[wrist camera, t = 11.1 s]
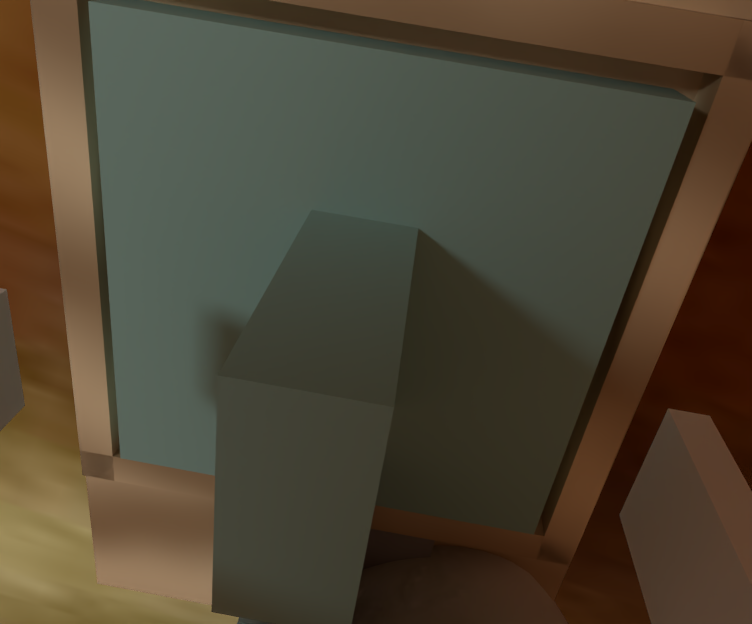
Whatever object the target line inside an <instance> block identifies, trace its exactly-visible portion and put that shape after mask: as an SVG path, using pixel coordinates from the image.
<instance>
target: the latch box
mask: <svg viewBox="0 0 752 624" xmlns="http://www.w3.org/2000/svg"><path fill="white" fill-rule="evenodd" d="M88 1H92V0H30V4H31V13H32V22H33V31H34V40H35V49H36V58H37V67H38V76H39V85H40V94H41V103H42V112H43V121H44V130H45V139H46V148H47V157H48V166H49V175H50V184H51V193H52V202H53V211H54V221H55V230H56V239H57V248H58V257H59V266H60V275H61V284H62V293H63V302H64V311H65V320H66V329H67V338H68V347H69V356H70V365H71V374H72V383H73V392H74V401H75V410H76V419H77V428H78V437H79V446H80V455H81V464H82V473H83V475H85V476H86V481H87V491H88V500H89V509H90V519H91V528H92V537H93V546H94V556H95V565H96V574H97V583H98V584H103V585H108V586H114V587H119V588H124V589H129V590H135V591H140V592H145V593H150V594H156V595H161V596H166V597H171V598H177V599H182V600H187V601H193V602H198V603H203V604H208V605H212V577H213V537H214V498H215V476H214V475H208V474H203V473H198V472H192V471H187V470H181V469H176V468H171V467H165V466H160V465H154V464H149V463H144V462H138V461H133V460H127V459H122V458H120V444H119V430H118V416H117V402H116V387H115V373H114V359H113V345H112V331H111V317H110V303H109V288H108V274H107V260H106V246H105V232H104V218H103V204H102V189H101V175H100V161H99V147H98V133H97V119H96V105H95V90H94V76H93V62H92V48H91V34H90V20H89V6H88ZM145 1H151V2H157V3H163V4H169V5H175V6H181V7H187V8H193V9H199V10H205V11H211V12H217V13H223V14H229V15H235V16H241V17H247V18H253V19H258V20H264V21H270V22H276V23H282V24H288V25H294V26H300V27H306V28H312V29H318V30H324V31H330V32H336V33H342V34H348V35H354V36H360V37H366V38H372V39H378V40H384V41H390V42H396V43H402V44H408V45H414V46H420V47H426V48H432V49H438V50H444V51H450V52H456V53H462V54H468V55H474V56H480V57H486V58H492V59H498V60H504V61H510V62H516V63H522V64H528V65H534V66H540V67H546V68H552V69H558V70H564V71H570V72H576V73H582V74H588V75H594V76H600V77H606V78H612V79H618V80H624V81H630V82H636V83H642V84H648V85H654V86H660V87H666V88H672V89H674V90H676V91H678V92H679V93H681V94H683V95H684V96H686V97H688V98H689V99H691V100H692V101H694V102H696V105H695V107H694V110H693V113H692V115H691V118H690V121H689V123H688V126H687V129H686V131H685V134H684V137H683V139H682V142H681V144H680V147H679V150H678V152H677V155H676V158H675V160H674V163H673V166H672V168H671V171H670V174H669V176H668V179H667V182H666V184H665V187H664V190H663V192H662V195H661V198H660V200H659V203H658V206H657V208H656V211H655V214H654V216H653V219H652V222H651V224H650V227H649V230H648V232H647V235H646V238H645V240H644V243H643V246H642V248H641V251H640V254H639V256H638V259H637V262H636V264H635V267H634V269H633V272H632V275H631V277H630V280H629V283H628V285H627V288H626V291H625V293H624V296H623V299H622V301H621V304H620V307H619V309H618V312H617V315H616V317H615V320H614V323H613V325H612V328H611V331H610V333H609V336H608V339H607V341H606V344H605V347H604V349H603V352H602V355H601V357H600V360H599V363H598V365H597V368H596V371H595V373H594V376H593V379H592V381H591V384H590V387H589V389H588V392H587V394H586V397H585V400H584V402H583V405H582V408H581V410H580V413H579V416H578V418H577V421H576V424H575V426H574V429H573V432H572V434H571V437H570V440H569V442H568V445H567V448H566V450H565V453H564V456H563V458H562V461H561V464H560V466H559V469H558V472H557V474H556V477H555V480H554V482H553V485H552V488H551V490H550V493H549V496H548V498H547V501H546V504H545V506H544V509H543V512H542V514H541V517H540V519H539V522H538V525H537V527H536V530H535V533H534V535H533V534H527V533H522V532H517V531H511V530H506V529H500V528H495V527H490V526H484V525H479V524H473V523H468V522H463V521H457V520H452V519H446V518H441V517H436V516H430V515H425V514H419V513H414V512H409V511H403V510H398V509H392V508H387V507H381V506H376V505H375V508H374V513H373V518H372V523H371V528H370V533H369V538H368V543H367V549H366V554H365V559H364V564H363V569H362V570H364V569H367V568H370V567H373V566H376V565H380V564H384V563H388V562H393V561H398V560H405V559H412V558H424V557H431V553H432V549H433V546H434V545H445V546H458V547H466V548H471V549H476V550H481V551H485V552H488V553H491V554H494V555H497V556H500V557H502V558H504V559H506V560H509V561H511V562H513V563H514V564H516V565H517V566H519V567H521V568H522V569H524V570H525V571H527V572H528V573H530V574H531V575H532V577H533V578H534V579H535V580H536V581H537V582H538V583H539V584H540V585H541V587H542V588H543V589H544V590H545V591H546V592H547V594H548V595H549V597H550V598H551V599H552V600H553V601H554V600H555V598H556V596H557V593H558V591H559V589H560V586H561V584H562V582H563V579H564V577H565V575H566V572H567V570H568V568H569V565H570V563H571V561H572V558H573V556H574V554H575V551H576V549H577V547H578V544H579V542H580V540H581V537H582V535H583V533H584V530H585V528H586V526H587V523H588V521H589V519H590V516H591V514H592V512H593V509H594V507H595V505H596V502H597V500H598V498H599V495H600V493H601V491H602V488H603V486H604V484H605V481H606V479H607V477H608V475H609V472H610V470H611V468H612V465H613V463H614V461H615V458H616V456H617V454H618V451H619V449H620V447H621V444H622V442H623V440H624V437H625V435H626V433H627V430H628V428H629V426H630V423H631V421H632V419H633V416H634V414H635V412H636V409H637V407H638V405H639V402H640V400H641V398H642V395H643V393H644V391H645V388H646V386H647V384H648V381H649V379H650V377H651V374H652V372H653V370H654V367H655V365H656V363H657V360H658V358H659V356H660V353H661V351H662V349H663V346H664V344H665V342H666V339H667V337H668V335H669V332H670V330H671V328H672V325H673V323H674V321H675V319H676V316H677V314H678V312H679V309H680V307H681V305H682V302H683V300H684V298H685V295H686V293H687V291H688V288H689V286H690V284H691V281H692V279H693V277H694V274H695V272H696V270H697V267H698V265H699V263H700V260H701V258H702V256H703V253H704V251H705V249H706V246H707V244H708V242H709V239H710V237H711V235H712V232H713V230H714V228H715V225H716V223H717V221H718V218H719V216H720V214H721V211H722V209H723V207H724V204H725V202H726V200H727V197H728V195H729V193H730V190H731V188H732V186H733V183H734V181H735V179H736V176H737V174H738V172H739V170H740V167H741V165H742V163H743V160H744V158H745V156H746V153H747V151H748V149H749V146H750V144H751V142H752V0H145ZM215 613H216V612H215ZM220 614H221V613H220ZM225 615H226V614H225ZM236 617H237V616H236Z"/></svg>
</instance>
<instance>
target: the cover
mask: <svg viewBox="0 0 752 624" xmlns="http://www.w3.org/2000/svg"><path fill="white" fill-rule="evenodd" d="M88 6H89V20H90V34H91V48H92V62H93V76H94V90H95V105H96V119H97V133H98V147H99V161H100V175H101V189H102V204H103V218H104V232H105V246H106V260H107V274H108V288H109V303H110V317H111V331H112V345H113V359H114V373H115V387H116V402H117V416H118V430H119V444H120V458H122V459H127V460H133V461H138V462H144V463H149V464H154V465H160V466H165V467H171V468H176V469H181V470H187V471H192V472H198V473H203V474H208V475H214V476H215V498H214V537H213V577H212V612H216V613H221V614H226V615H231V616H237V617H242V618H247V619H252V620H258V621H263V622H268V623H273V624H352V620H353V615H354V610H355V605H356V600H357V595H358V589H359V584H360V579H361V574H362V569H363V564H364V559H365V554H366V549H367V543H368V538H369V533H370V528H371V523H372V518H373V513H374V508H375V505H376V506H381V507H387V508H392V509H398V510H403V511H409V512H414V513H419V514H425V515H430V516H436V517H441V518H446V519H452V520H457V521H463V522H468V523H473V524H479V525H484V526H490V527H495V528H500V529H506V530H511V531H517V532H522V533H527V534H533V535H534V533H535V530H536V527H537V525H538V522H539V519H540V517H541V514H542V512H543V509H544V506H545V504H546V501H547V498H548V496H549V493H550V490H551V488H552V485H553V482H554V480H555V477H556V474H557V472H558V469H559V466H560V464H561V461H562V458H563V456H564V453H565V450H566V448H567V445H568V442H569V440H570V437H571V434H572V432H573V429H574V426H575V424H576V421H577V418H578V416H579V413H580V410H581V408H582V405H583V402H584V400H585V397H586V394H587V392H588V389H589V387H590V384H591V381H592V379H593V376H594V373H595V371H596V368H597V365H598V363H599V360H600V357H601V355H602V352H603V349H604V347H605V344H606V341H607V339H608V336H609V333H610V331H611V328H612V325H613V323H614V320H615V317H616V315H617V312H618V309H619V307H620V304H621V301H622V299H623V296H624V293H625V291H626V288H627V285H628V283H629V280H630V277H631V275H632V272H633V269H634V267H635V264H636V262H637V259H638V256H639V254H640V251H641V248H642V246H643V243H644V240H645V238H646V235H647V232H648V230H649V227H650V224H651V222H652V219H653V216H654V214H655V211H656V208H657V206H658V203H659V200H660V198H661V195H662V192H663V190H664V187H665V184H666V182H667V179H668V176H669V174H670V171H671V168H672V166H673V163H674V160H675V158H676V155H677V152H678V150H679V147H680V144H681V142H682V139H683V137H684V134H685V131H686V129H687V126H688V123H689V121H690V118H691V115H692V113H693V110H694V107H695V105H696V102H694V101H692V100H691V99H689V98H688V97H686V96H684V95H683V94H681V93H679V92H678V91H676V90H674V89H672V88H666V87H660V86H654V85H648V84H642V83H636V82H630V81H624V80H618V79H612V78H606V77H600V76H594V75H588V74H582V73H576V72H570V71H564V70H558V69H552V68H546V67H540V66H534V65H528V64H522V63H516V62H510V61H504V60H498V59H492V58H486V57H480V56H474V55H468V54H462V53H456V52H450V51H444V50H438V49H432V48H426V47H420V46H414V45H408V44H402V43H396V42H390V41H384V40H378V39H372V38H366V37H360V36H354V35H348V34H342V33H336V32H330V31H324V30H318V29H312V28H306V27H300V26H294V25H288V24H282V23H276V22H270V21H264V20H258V19H253V18H247V17H241V16H235V15H229V14H223V13H217V12H211V11H205V10H199V9H193V8H187V7H181V6H175V5H169V4H163V3H157V2H151V1H145V0H92V1H88Z"/></svg>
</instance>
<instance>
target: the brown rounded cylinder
mask: <svg viewBox="0 0 752 624" xmlns="http://www.w3.org/2000/svg"><path fill="white" fill-rule="evenodd" d="M352 624H568V622H567V621H566V619H565V617H564V616H563V614H562V612H561V611H560V609H559V608H558V606H557V604H556V603H555V601H553V600H552V599H551V598H550V597H549V595H548V594H547V592H546V591H545V590H544V589H543V588H542V587H541V585H540V584H539V583H538V582H537V581H536V580H535V579H534V578H533V577H532V575H531V574H530V573H528V572H527V571H525V570H524V569H522V568H521V567H519V566H517V565H516V564H514V563H513V562H511V561H509V560H506V559H504V558H502V557H500V556H497V555H494V554H491V553H488V552H485V551H481V550H476V549H471V548H466V547H458V546H445V545H434V546H433V549H432V553H431V557H424V558H412V559H405V560H398V561H393V562H388V563H384V564H380V565H376V566H373V567H370V568H367V569H364V570H362V574H361V579H360V584H359V589H358V595H357V600H356V605H355V610H354V615H353V620H352Z"/></svg>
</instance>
